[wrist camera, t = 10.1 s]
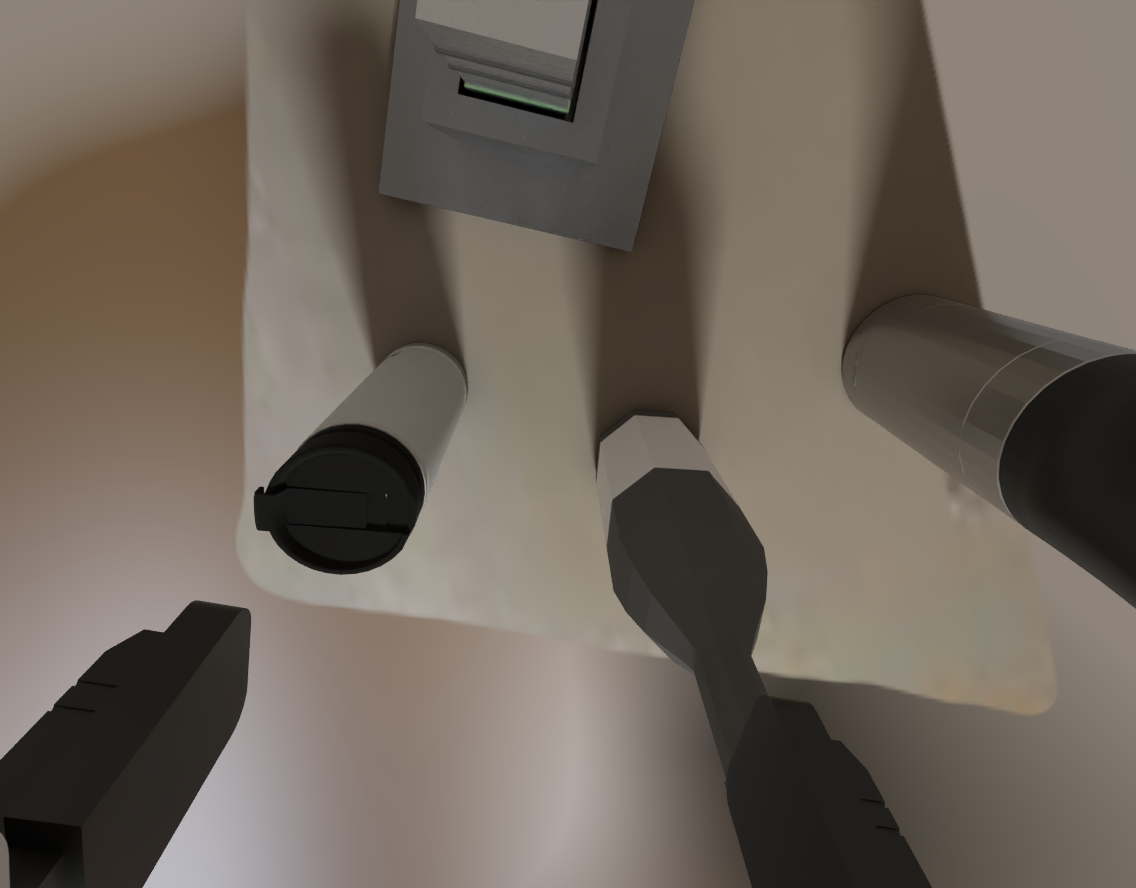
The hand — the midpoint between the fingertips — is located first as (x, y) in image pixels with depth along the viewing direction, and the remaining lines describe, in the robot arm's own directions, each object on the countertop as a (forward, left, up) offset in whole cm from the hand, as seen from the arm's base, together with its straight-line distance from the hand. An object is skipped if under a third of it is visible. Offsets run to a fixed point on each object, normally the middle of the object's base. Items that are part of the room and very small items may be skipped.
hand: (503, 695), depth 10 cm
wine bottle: (-10, +9, -36) cm, 39 cm away
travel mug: (+7, +7, -36) cm, 38 cm away
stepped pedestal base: (+3, -13, -36) cm, 38 cm away
